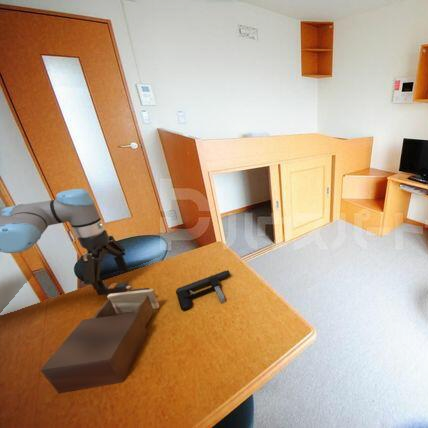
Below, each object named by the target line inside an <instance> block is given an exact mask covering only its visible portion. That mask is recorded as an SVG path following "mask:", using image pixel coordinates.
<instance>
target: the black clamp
mask: <svg viewBox="0 0 428 428" xmlns="http://www.w3.org/2000/svg"><path fill="white" fill-rule="evenodd" d="M230 276H231V272H230V270H229V269H228V270H223V271H220V272H218V273H215V274H213V275H209V276H207V277H204V278H202V279H199V280H196V281H194V282H191V283H188V284H186V285H182V286H179V287H178V288H177V289H176V290H175V295H176V296H177V300H178V303H179V304H178V305H179V307H180V310H181V311H187V310H190V309H191V308H192V307H193V300H195V299H197V298H201V297H203V296H205V295H208V294H210V293H215V292H216V296H217V297H218V300H219V302H220V304H224V303H226V302H227V301H226V297H225V295H224V293H223V291H222V285H221V283H220V282H221V281H222V280H225V279H227V278H229V277H230ZM209 285H210V287H207V286H209ZM204 287H207V288H205V289H202V290H199V289H201V288H204ZM197 290H199V291H197ZM195 291H197V292H195ZM190 293H191V294H190Z"/></svg>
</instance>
